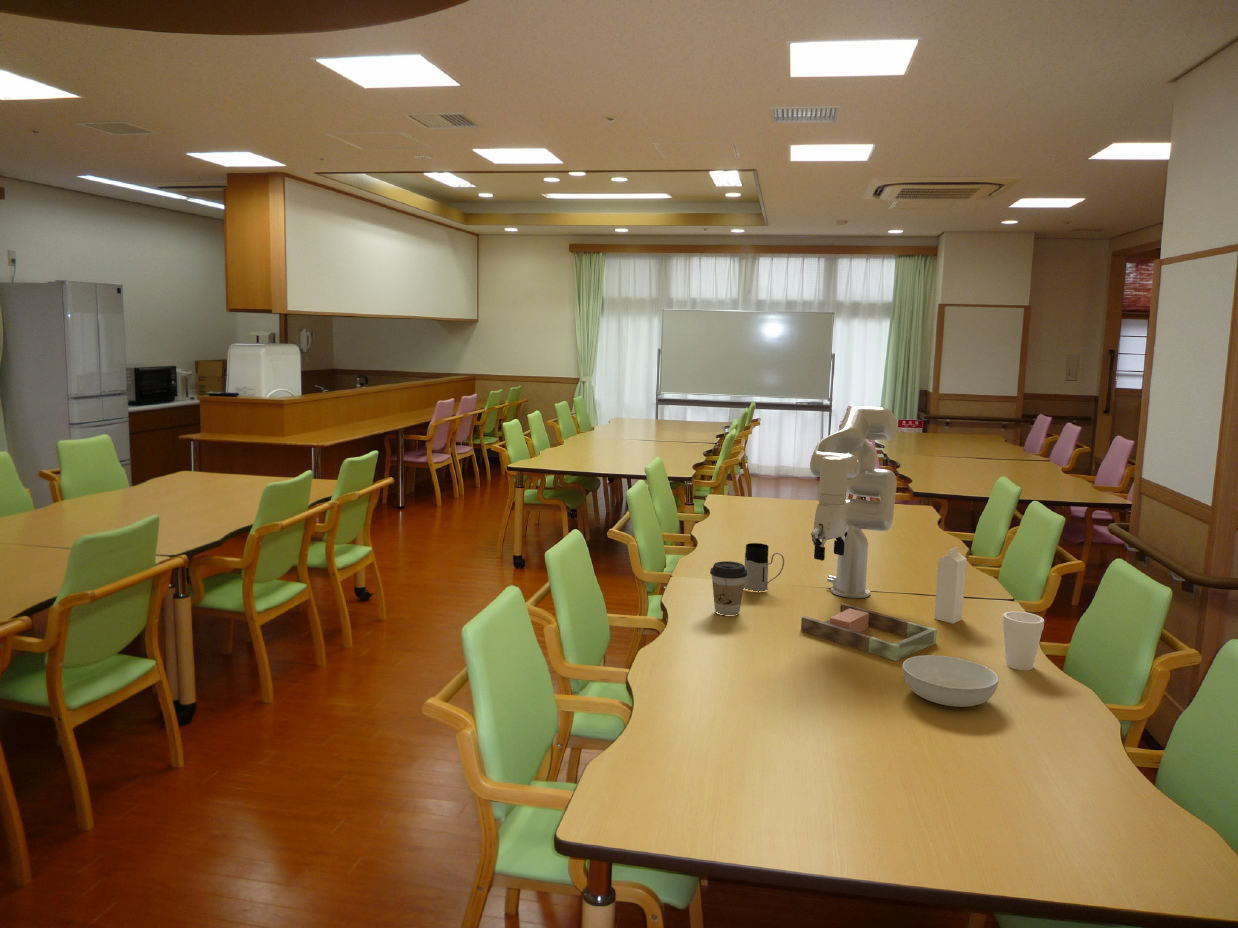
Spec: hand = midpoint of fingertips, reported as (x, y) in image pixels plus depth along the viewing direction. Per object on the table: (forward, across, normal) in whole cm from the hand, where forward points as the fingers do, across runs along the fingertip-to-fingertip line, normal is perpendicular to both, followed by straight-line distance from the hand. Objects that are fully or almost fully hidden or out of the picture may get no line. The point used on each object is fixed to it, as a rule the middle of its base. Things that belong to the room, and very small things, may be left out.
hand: (829, 557), depth 241 cm
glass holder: (+20, -12, -33) cm, 41 cm away
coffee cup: (+20, +15, -25) cm, 36 cm away
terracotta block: (+20, 0, +8) cm, 22 cm away
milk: (+20, -33, +21) cm, 44 cm away
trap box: (+20, 0, +14) cm, 25 cm away
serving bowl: (+21, +22, +49) cm, 57 cm away
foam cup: (+20, -12, +51) cm, 56 cm away
